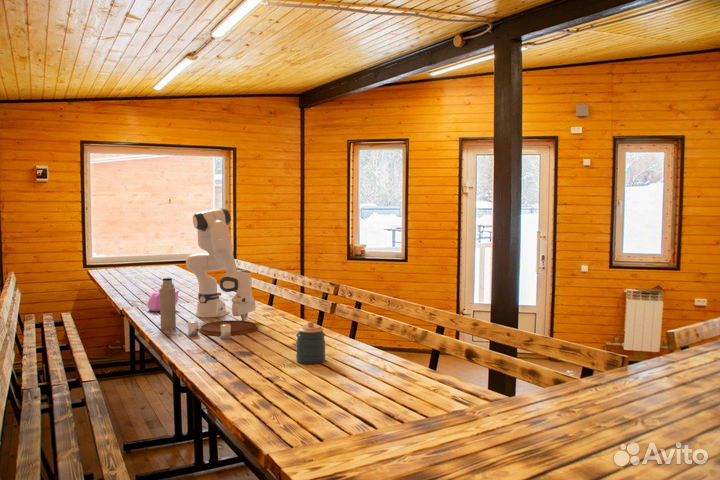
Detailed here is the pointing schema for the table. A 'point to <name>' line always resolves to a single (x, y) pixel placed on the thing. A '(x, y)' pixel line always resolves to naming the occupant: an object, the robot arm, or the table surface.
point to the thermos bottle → (167, 304)
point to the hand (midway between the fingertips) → (244, 321)
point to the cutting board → (236, 328)
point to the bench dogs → (194, 330)
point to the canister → (310, 344)
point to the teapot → (158, 301)
